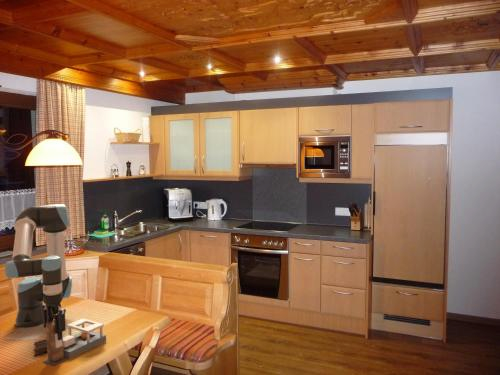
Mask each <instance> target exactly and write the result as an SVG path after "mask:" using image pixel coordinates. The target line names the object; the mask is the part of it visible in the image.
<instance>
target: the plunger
mask: <svg viewBox="0 0 500 375" xmlns="http://www.w3.org/2000/svg"><path fill="white" fill-rule="evenodd" d="M80 332H81V333H82V340H83V341H85V340H87V333H86V332H82V331H80ZM89 335H90V333H89Z"/></svg>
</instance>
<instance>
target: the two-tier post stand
mask: <svg viewBox="0 0 500 375" xmlns="http://www.w3.org/2000/svg"><path fill="white" fill-rule="evenodd" d="M85 324H90V325H89V326H85ZM104 326H105V325H104V323H100V322H97V321H93V320H91V319H87V318H81V319H77V320H75V321H73V322H70V323H68V324H66V328H68V335H70V336H73V337H75V343H74V344H72V345H70V346H68V347H63V356H64V357H67V358H68V359H72V358H75V357H77V356H79V355H81V354H82V353H85V352H87V351H89V350H90V349H93V348H95V347H97V346H99V345H101V344H102V343H103V344H104V343H106V342H107V335H106V334H104V333H103V332H104V331H103V327H104ZM98 329H99V332H97V331H96V330H98ZM72 330H76V331H79V332H77V333H75V334H73V335H72ZM81 332H86V333H87V340H85V341H83V340H82V333H81ZM89 333H90V335H89Z"/></svg>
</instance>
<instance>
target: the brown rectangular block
mask: <svg viewBox="0 0 500 375" xmlns="http://www.w3.org/2000/svg"><path fill="white" fill-rule="evenodd" d="M45 329H46V339H47V351H46V353H47V359H49V360H51V361H56V360H58V359H61V358H63V357H64V356H63V337H64V336H63V334H64V333H62V346H60V347H58V348H56V345H55V332H56V328H55V323H54V320H53V321H50V322H48V323H46V328H45Z"/></svg>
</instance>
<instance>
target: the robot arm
mask: <svg viewBox="0 0 500 375" xmlns="http://www.w3.org/2000/svg"><path fill="white" fill-rule="evenodd" d="M69 216H70V215H69V211H68V207H67V205H65V204H57V203H56V204H45V205H31V206H28V207H27V208H24V209H23V211H21V212H20V213H19V214H18V215H17V217H16V218H15V221H14V224H13V228H14V231H15V235H14V236H15V237H14V240H13V241H14V243H13V249H12V258H11V260H8V261H6V262H5V266H4V273H5V277H6V278H7V279H15V278H16V279H18V278H26V277H27V278H26V279H23V280H21V281H20V282H19V283H17V291H16V292H17V303H18V306H17V307H18V311H17V313H16V317H15V321H14V322H15V326H16V327H19V328H29V327H35V326H36V327H37V326H39V325H41V324H42V327H43V328H44V329H46V323H48V322H50V321H53V320H54V323H55V328H56V332H55V345H56V348H58V347H60V346H62V334H63V332H66V329H67V325H66V311H67V310H66V308H62V304H61V303H62V301H63V300H64V299H69V298H70V296H71V295H72V294H71V293H72V288H73V287H72V286H73V276H70V273H69V272H67V268H66V267H67V266H66V264H67V263H66V246H65V244H66V242H65V232H66V231H67V229H68V227H69V226H71V224H70V223H71V222H70V219H69V218H70V217H69ZM36 229H42V231H43V233H45V234H46V252H47V256H45V257H39V258H32V251H33V241H34V240H33V239H34V231H35V230H36ZM41 276H42V277H41ZM28 277H29V278H28Z"/></svg>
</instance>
